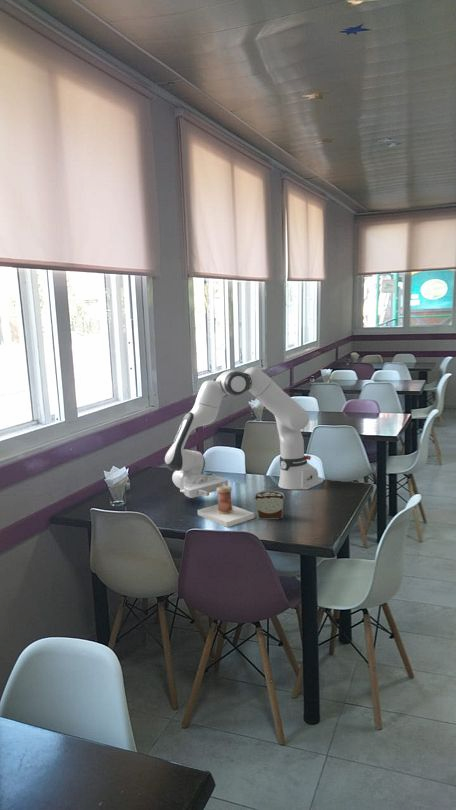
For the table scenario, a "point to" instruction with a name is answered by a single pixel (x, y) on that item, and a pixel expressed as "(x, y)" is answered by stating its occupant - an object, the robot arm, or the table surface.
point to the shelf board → (226, 515)
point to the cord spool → (224, 500)
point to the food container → (269, 504)
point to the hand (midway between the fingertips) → (217, 491)
